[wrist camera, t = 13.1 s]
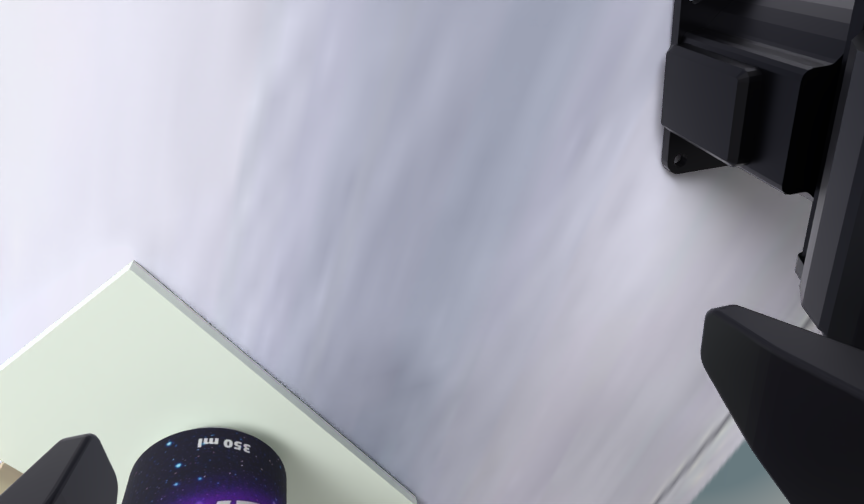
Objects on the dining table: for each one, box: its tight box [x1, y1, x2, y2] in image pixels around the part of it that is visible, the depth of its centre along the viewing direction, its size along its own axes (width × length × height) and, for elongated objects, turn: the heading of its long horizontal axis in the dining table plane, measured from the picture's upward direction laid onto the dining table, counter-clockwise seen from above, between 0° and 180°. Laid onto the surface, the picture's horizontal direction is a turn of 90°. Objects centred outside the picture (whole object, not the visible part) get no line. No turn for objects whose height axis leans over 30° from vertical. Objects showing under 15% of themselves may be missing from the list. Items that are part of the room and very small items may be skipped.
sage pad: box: [0, 260, 417, 504], centre depth 26 cm, size 9×16×1 cm, turn 36°
